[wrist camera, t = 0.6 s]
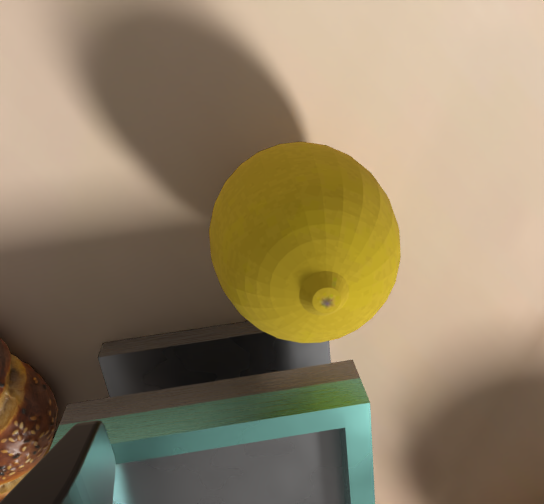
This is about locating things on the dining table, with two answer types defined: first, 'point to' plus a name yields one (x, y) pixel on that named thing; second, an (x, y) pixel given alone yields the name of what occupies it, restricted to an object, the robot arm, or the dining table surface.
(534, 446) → the dining table surface
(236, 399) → the teal tray on stand
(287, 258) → the lemon
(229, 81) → the dining table surface
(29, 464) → the pretzel
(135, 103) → the dining table surface
